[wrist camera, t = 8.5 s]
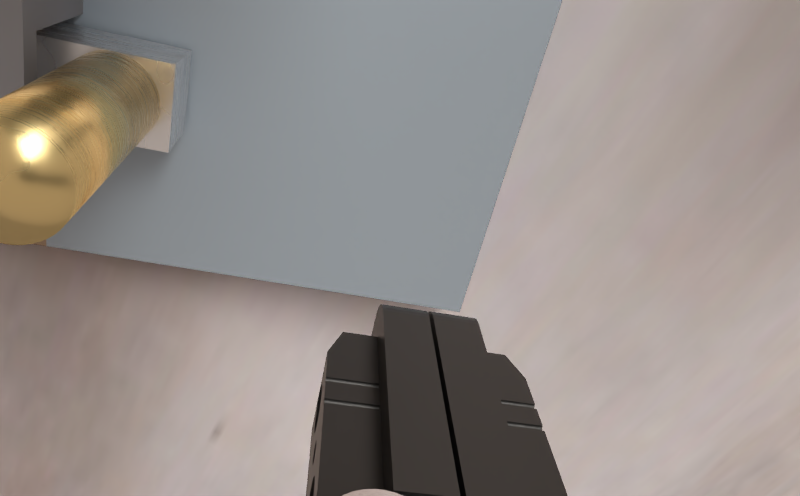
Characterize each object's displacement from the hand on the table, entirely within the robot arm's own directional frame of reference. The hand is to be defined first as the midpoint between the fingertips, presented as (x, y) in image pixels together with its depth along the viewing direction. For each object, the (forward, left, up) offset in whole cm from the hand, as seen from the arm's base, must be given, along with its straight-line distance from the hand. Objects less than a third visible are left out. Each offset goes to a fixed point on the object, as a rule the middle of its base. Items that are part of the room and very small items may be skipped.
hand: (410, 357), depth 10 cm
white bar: (+11, 0, -11) cm, 15 cm away
